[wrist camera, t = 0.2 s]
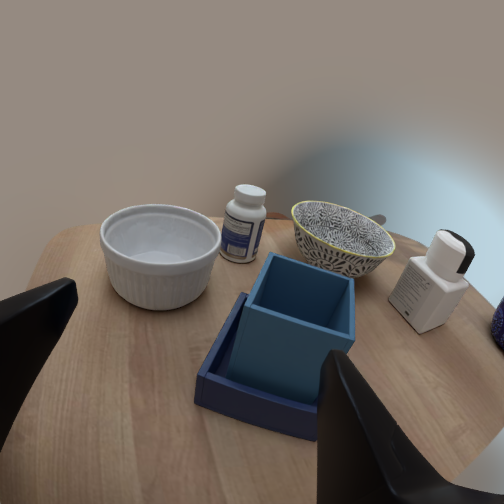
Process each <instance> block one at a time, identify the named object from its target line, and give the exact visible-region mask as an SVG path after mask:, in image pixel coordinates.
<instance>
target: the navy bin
mask: <svg viewBox="0 0 504 504" xmlns="http://www.w3.org/2000/svg"><path fill="white" fill-rule="evenodd" d="M248 296H249V294H246V293H243V292H241V293H240V295H239V297H238V299H237V301H236V303H235V305H234V307H233V308H232V310H231V312H230V314H229V316H228V318H227V320H226V322H225V323H224V325H223V327H222V329H221V331H220V333H219V335H218V336H217V338H216V340H215V342H214V344H213V346H212V348H211V350H210V351H209V353H208V355H207V357H206V359H205V361H204V362H203V364H202V366H201V368H200V370H199V372H198V374H197V380H196V389H195V397H194V403H195V404H197V405H200V406H202V407H205V408H207V409H210V410H212V411H215V412H218V413H220V414H223V415H226V416H229V417H231V418H234V419H237V420H240V421H243V422H246V423H249V424H252V425H255V426H259V427H262V428H265V429H269V430H272V431H275V432H279V433H283V434H286V435H290V436H294V437H298V438H302V439H306V440H310V441H316V440H317V402H318V396H317V398H316V399H315V400H314V402H313V403H312V404H311V405H307V404H304V403H300V402H296V401H293V400H289V399H286V398H283V397H279V396H276V395H273V394H269V393H266V392H263V391H260V390H257V389H254V388H251V387H248V386H245V385H242V384H240V383H237V382H234V381H231V380H228V379H226V374H227V370H228V366H229V362H230V358H231V354H232V350H233V347H234V343H235V339H236V335H237V331H238V327H239V323H240V319H241V315H242V311H243V307H244V304H245V302H246V300H247V298H248Z"/></svg>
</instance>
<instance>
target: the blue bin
mask: <svg viewBox="0 0 504 504" xmlns="http://www.w3.org/2000/svg"><path fill="white" fill-rule="evenodd" d="M354 342H355V296H354V279H352V278H349V277H346V276H343V275H340V274H337V273H334V272H331V271H328V270H325V269H322V268H319V267H315V266H312V265H309V264H306V263H303V262H300V261H297V260H294V259H291V258H288V257H285V256H282V255H279V254H276V253H273V252H270V253H269V255H268V257H267V259H266V261H265V263H264V265H263V267H262V269H261V271H260V274H259V276H258V278H257V280H256V282H255V284H254V286H253V288H252V290H251V292H250V294H249V296H248V298H247V300H246V302H245V304H244V307H243V311H242V315H241V319H240V323H239V327H238V331H237V335H236V339H235V343H234V347H233V350H232V354H231V358H230V362H229V366H228V370H227V374H226V379H228V380H231V381H234V382H237V383H240V384H242V385H245V386H248V387H251V388H254V389H257V390H260V391H263V392H266V393H269V394H273V395H276V396H279V397H283V398H286V399H289V400H293V401H296V402H300V403H304V404H307V405H311V404H312V403H313V402H314V400H315V399H316V398H317V396H318V392H319V380H320V369H321V366H322V363H323V362H324V360H325V358H326V356H327V355H328V353H329V351H330V350H331V349H338V350H343V351H344V352H345V353H346V354H347V353H348V351H349V349H350V348H351V346H352V345H353V343H354Z"/></svg>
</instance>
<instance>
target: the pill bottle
mask: <svg viewBox="0 0 504 504" xmlns="http://www.w3.org/2000/svg"><path fill="white" fill-rule="evenodd" d="M265 195H266V192H265V191H264V190H263V189H261V188H259V187H256V186H252V185H244V184H242V185H238V186H236V188H235V193H234V199H233V200H231V201H230V202H229V203H228V204H227V207H226V211H225V217H224V223H223V228H222V234H221V236H222V239H221V248H220V253H221V255H222V256H223V257H225V258H226V259H228V260H230V261H233V262H238V263H246V262H250V261H252V260H253V259H254V258H255V257H256V254H257V251H258V246H259V242H260V238H261V234H262V230H263V226H264V222H265V218H266V209H265V208H264V206H263V205H262V204H263V203H264V201H265Z"/></svg>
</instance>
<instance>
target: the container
mask: <svg viewBox="0 0 504 504" xmlns="http://www.w3.org/2000/svg"><path fill="white" fill-rule="evenodd" d="M474 256H475V254H474V249H473V248H472V246H471V245H470V243H469V242H467V241H466V240H465V239H464V238H463V237H461V236H459V235H458V234H456V233H454V232H452V231H449V230H442V229H441V230H438V231H437V232H436V234H435V236H434V238H433V241H432V243H431V245H430V247H429V249H428V251H427V253H426V256H421V257H411V258H410V259H409V261H408V263H407V265H406V267H405V269H404V271H403V273H402V275H401V277H400V279H399V280H398V282H397V284H396V286H395V288H394V290H393V292H392V293H391V295H390V297H389V301H390V302H391V303H392V305H393V306H394V307H395V308H396V309H397V310H398V311H399V312H400V313H401V314H402V315H403V317H404V318H405V319H406V320H407V321H408V322H409V323H410V324H411V326H412V327H413V328H414V329H415V330H416V331H417V332H418V333H419V334H421V333H424V332H426V331H428V330H431V329H433V328H435V327H438V326H440V325H442V324H444V323H445V322H446V321H447V319H448V318H449V316H450V315H451V313H452V312H453V310H454V309H455V307H456V306H457V304H458V303H459V301H460V299H461V298H462V296H463V295H464V293H465V291H466V290H467V288H468V286H469V284H468V283H467V282H466V281H465V280H464V279H463V276H464V274H465V273H466V271H467V269H468V267H469V265H470V264H471V262H472V260H473V258H474Z"/></svg>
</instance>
